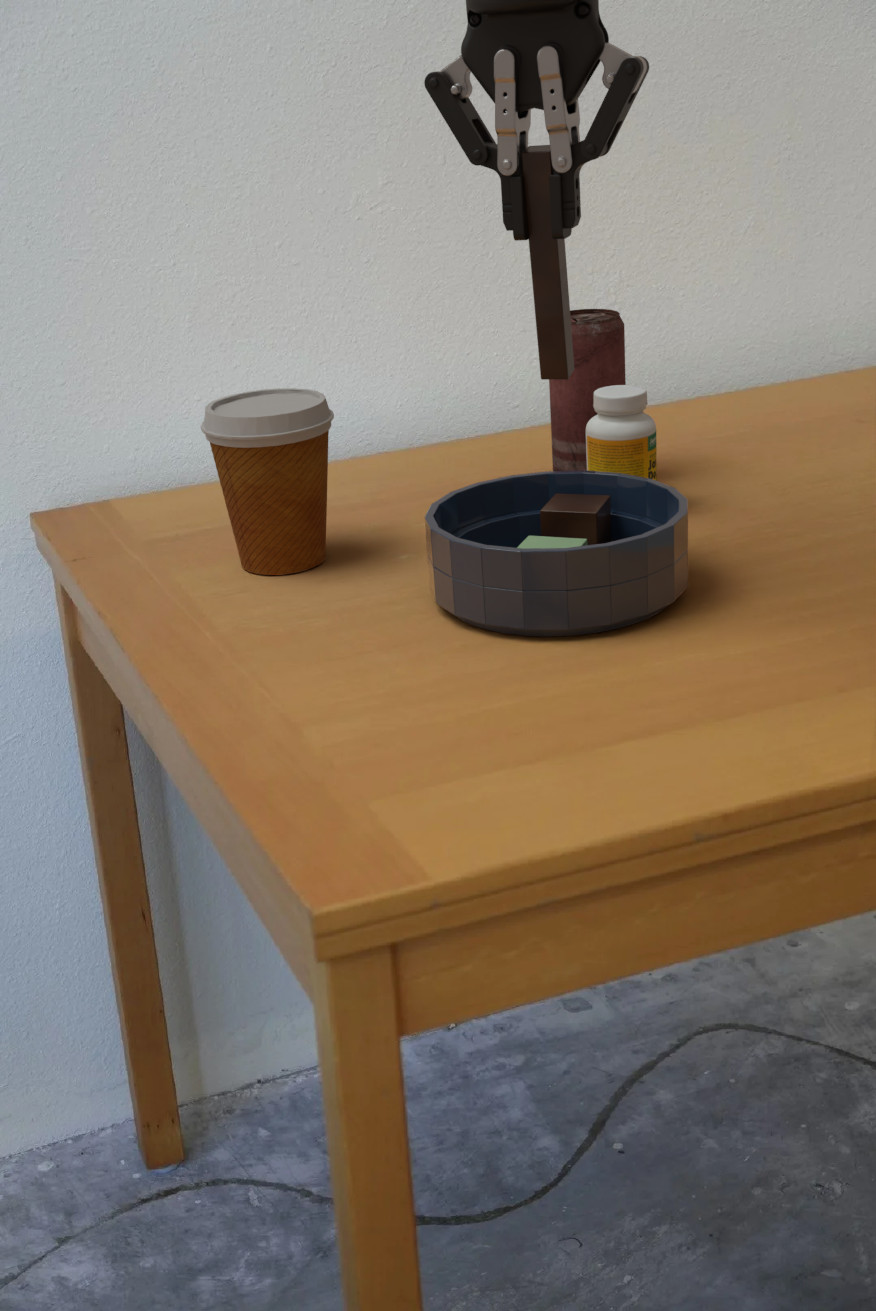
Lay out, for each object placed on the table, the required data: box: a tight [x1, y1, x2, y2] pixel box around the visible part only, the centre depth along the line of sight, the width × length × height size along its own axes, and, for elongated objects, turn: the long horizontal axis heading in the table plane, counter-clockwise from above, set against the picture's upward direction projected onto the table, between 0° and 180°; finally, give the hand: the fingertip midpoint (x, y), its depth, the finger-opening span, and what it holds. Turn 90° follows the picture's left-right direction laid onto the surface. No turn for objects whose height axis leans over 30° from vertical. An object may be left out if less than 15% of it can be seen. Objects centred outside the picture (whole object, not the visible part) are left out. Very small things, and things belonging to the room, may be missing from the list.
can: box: [548, 308, 627, 471], centre depth 120 cm, size 6×6×14 cm
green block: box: [517, 536, 587, 549], centre depth 95 cm, size 4×4×4 cm
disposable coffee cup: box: [200, 387, 335, 576], centre depth 107 cm, size 10×10×12 cm
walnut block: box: [540, 493, 612, 545], centre depth 103 cm, size 4×4×4 cm
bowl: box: [424, 470, 689, 638], centre depth 99 cm, size 17×17×6 cm
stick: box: [521, 144, 574, 381], centre depth 91 cm, size 2×2×14 cm
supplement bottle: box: [586, 384, 658, 481], centre depth 113 cm, size 5×5×10 cm
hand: (543, 236), depth 89 cm, fingers closed on stick, 2 cm apart
